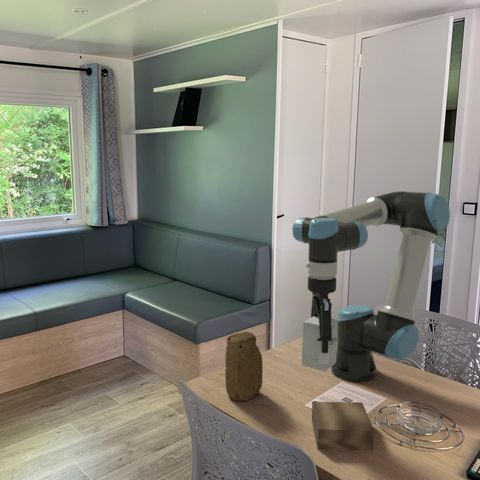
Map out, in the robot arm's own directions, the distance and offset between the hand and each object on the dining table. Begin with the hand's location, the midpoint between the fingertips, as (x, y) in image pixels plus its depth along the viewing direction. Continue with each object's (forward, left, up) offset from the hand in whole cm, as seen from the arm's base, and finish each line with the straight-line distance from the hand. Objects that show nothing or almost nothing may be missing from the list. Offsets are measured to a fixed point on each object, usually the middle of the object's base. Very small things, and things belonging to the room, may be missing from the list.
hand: (319, 355), depth 134 cm
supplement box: (0, 0, -3) cm, 3 cm away
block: (+19, -17, -20) cm, 33 cm away
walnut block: (-5, +7, -20) cm, 22 cm away
